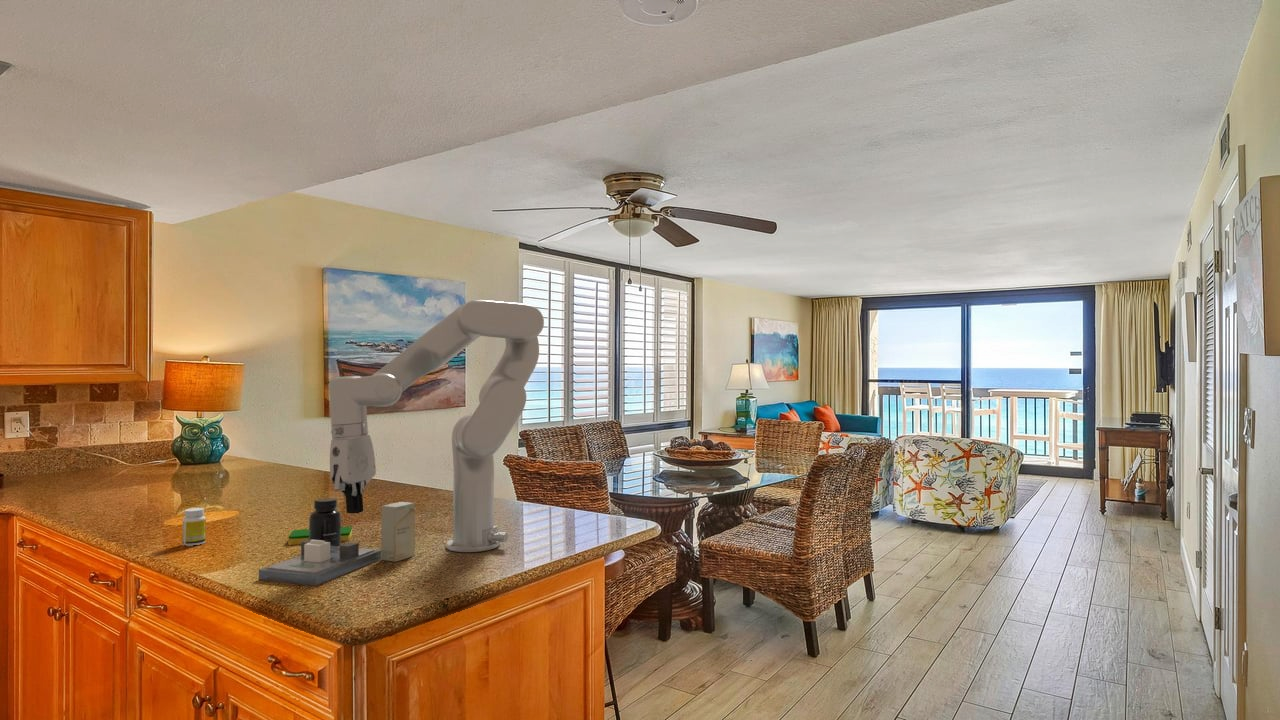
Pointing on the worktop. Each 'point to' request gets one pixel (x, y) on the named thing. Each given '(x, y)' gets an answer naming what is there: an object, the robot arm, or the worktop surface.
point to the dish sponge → (303, 535)
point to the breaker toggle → (317, 551)
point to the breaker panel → (320, 565)
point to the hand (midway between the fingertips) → (355, 512)
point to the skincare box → (398, 531)
